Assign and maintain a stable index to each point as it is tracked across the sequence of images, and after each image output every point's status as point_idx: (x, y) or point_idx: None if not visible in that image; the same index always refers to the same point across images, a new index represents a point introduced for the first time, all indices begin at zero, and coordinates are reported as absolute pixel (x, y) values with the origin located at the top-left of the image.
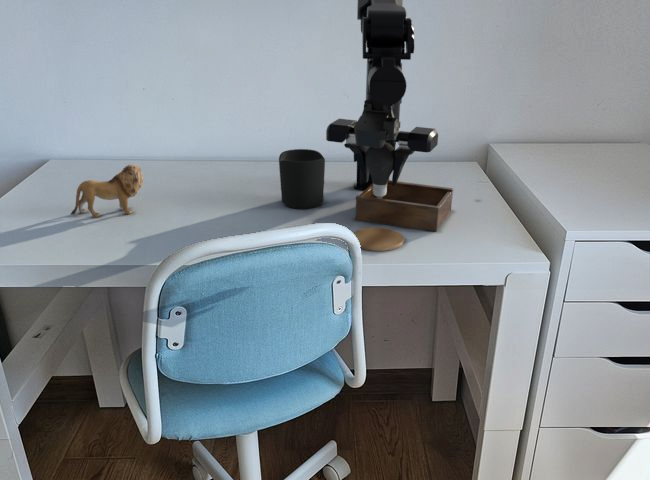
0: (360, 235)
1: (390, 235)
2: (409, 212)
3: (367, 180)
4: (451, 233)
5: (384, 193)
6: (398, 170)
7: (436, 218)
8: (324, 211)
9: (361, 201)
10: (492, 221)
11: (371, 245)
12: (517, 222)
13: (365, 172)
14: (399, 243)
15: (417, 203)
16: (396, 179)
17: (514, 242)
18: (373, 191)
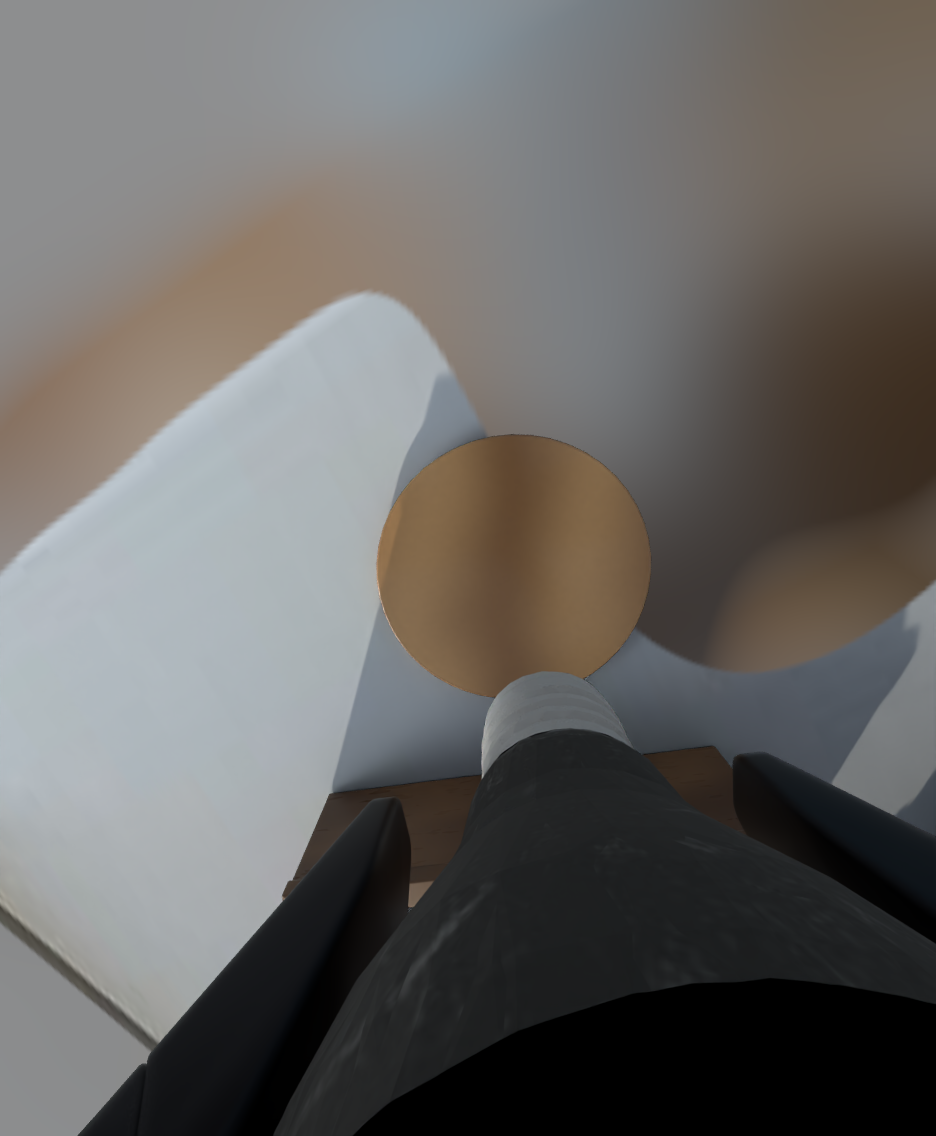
0: (599, 558)
1: (465, 634)
2: (450, 838)
3: (742, 799)
4: (269, 806)
5: (488, 721)
6: (174, 1040)
7: (312, 844)
8: (898, 767)
9: (739, 825)
10: (204, 975)
11: (488, 467)
12: (126, 1003)
13: (853, 847)
14: (379, 567)
15: (414, 904)
16: (315, 873)
17: (21, 839)
18: (600, 697)
